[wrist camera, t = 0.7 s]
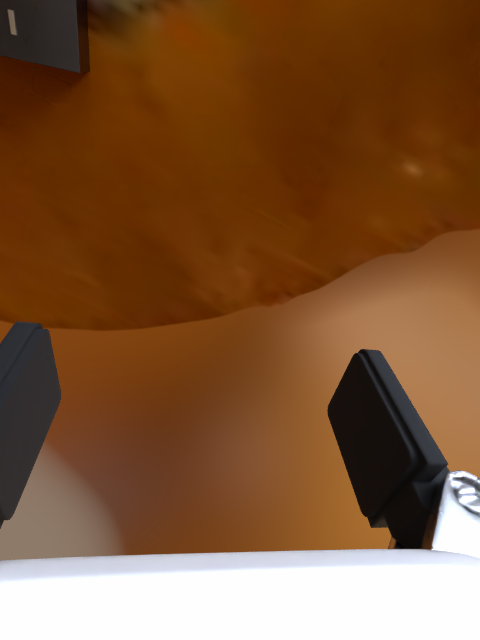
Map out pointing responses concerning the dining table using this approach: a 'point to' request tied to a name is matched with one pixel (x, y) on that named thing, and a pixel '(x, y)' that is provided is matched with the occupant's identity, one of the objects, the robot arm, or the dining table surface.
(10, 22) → the dial faceplate
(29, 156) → the dining table surface
